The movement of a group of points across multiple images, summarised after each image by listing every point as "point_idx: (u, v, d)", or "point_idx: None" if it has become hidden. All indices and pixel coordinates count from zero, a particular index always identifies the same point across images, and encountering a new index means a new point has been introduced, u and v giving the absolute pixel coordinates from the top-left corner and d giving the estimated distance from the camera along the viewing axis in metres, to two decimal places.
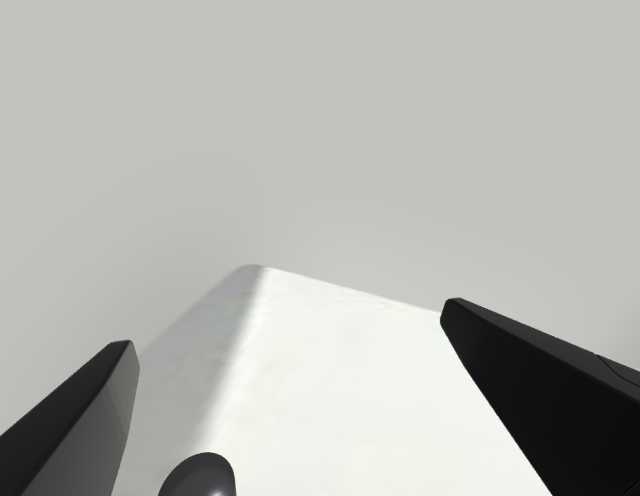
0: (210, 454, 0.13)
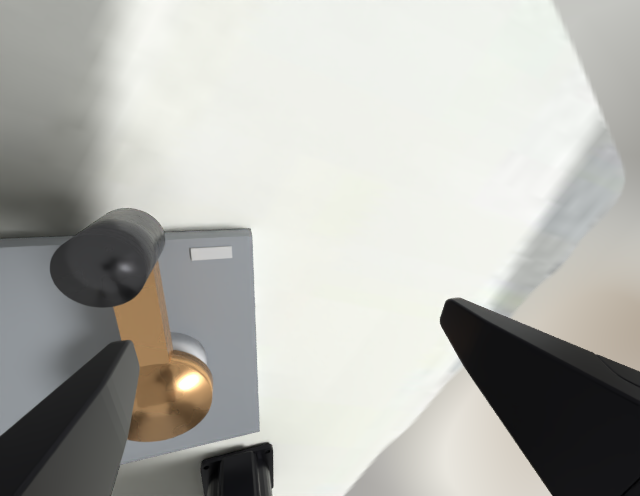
0: (106, 238, 0.10)
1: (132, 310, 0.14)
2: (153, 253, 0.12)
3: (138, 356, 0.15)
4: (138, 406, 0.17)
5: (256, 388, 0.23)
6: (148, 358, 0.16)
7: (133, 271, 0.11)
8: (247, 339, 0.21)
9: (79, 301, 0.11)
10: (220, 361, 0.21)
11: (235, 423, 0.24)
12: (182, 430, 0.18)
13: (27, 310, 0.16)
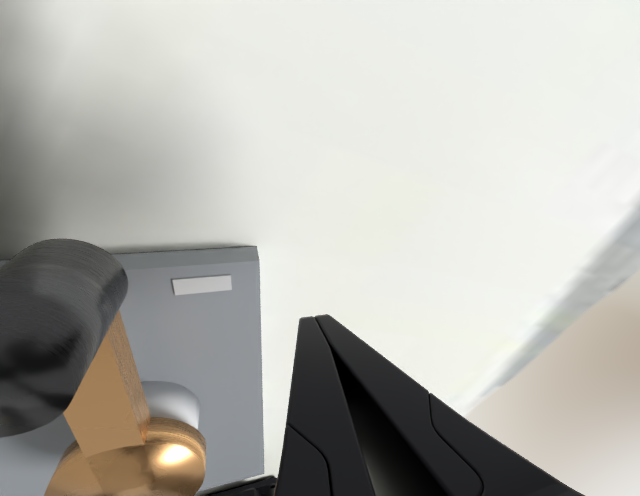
0: None
1: (81, 388, 0.10)
2: (96, 327, 0.07)
3: (97, 440, 0.11)
4: (104, 493, 0.12)
5: (261, 432, 0.19)
6: (112, 441, 0.11)
7: (48, 381, 0.06)
8: (251, 383, 0.17)
9: None
10: (217, 408, 0.17)
11: (235, 468, 0.20)
12: None
13: None
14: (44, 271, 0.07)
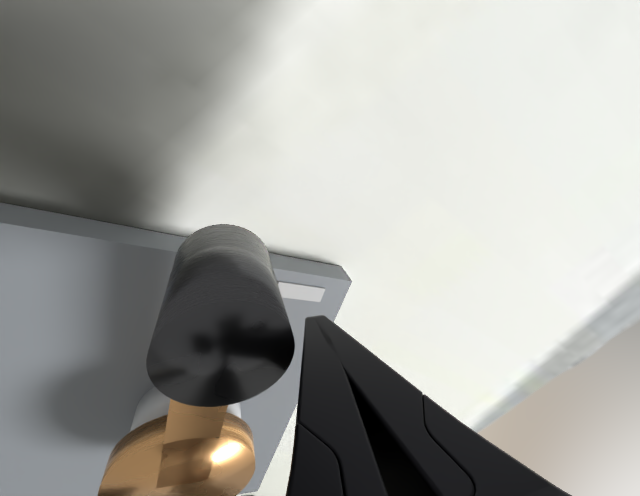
0: (261, 310, 0.06)
1: None
2: None
3: (183, 427, 0.11)
4: (156, 485, 0.12)
5: (275, 446, 0.19)
6: (195, 430, 0.11)
7: (275, 359, 0.07)
8: (291, 393, 0.17)
9: (174, 396, 0.06)
10: (251, 414, 0.17)
11: None
12: None
13: (27, 319, 0.11)
14: (252, 256, 0.08)
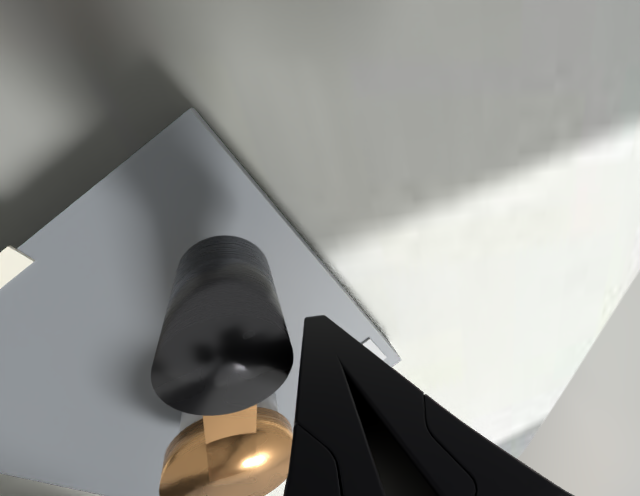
0: (249, 321, 0.06)
1: None
2: None
3: (220, 427, 0.11)
4: (209, 479, 0.13)
5: None
6: (232, 428, 0.12)
7: (276, 363, 0.07)
8: None
9: (188, 410, 0.07)
10: None
11: None
12: None
13: None
14: (242, 265, 0.08)
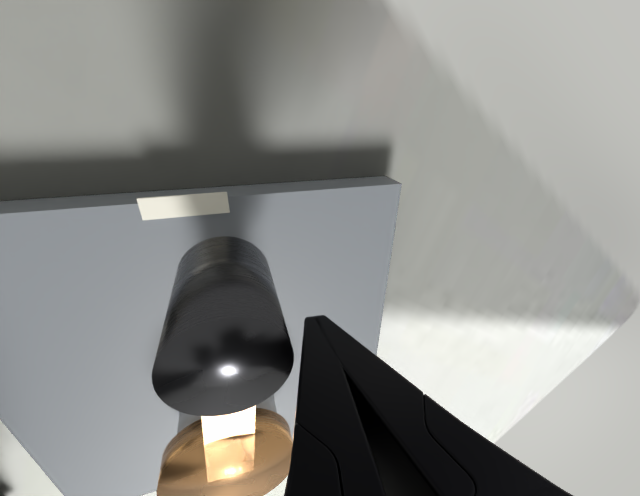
0: (250, 322, 0.06)
1: None
2: None
3: (218, 428, 0.11)
4: (207, 480, 0.13)
5: None
6: (230, 429, 0.12)
7: (276, 364, 0.07)
8: None
9: (188, 411, 0.07)
10: None
11: (101, 488, 0.16)
12: None
13: (318, 296, 0.14)
14: (242, 266, 0.08)
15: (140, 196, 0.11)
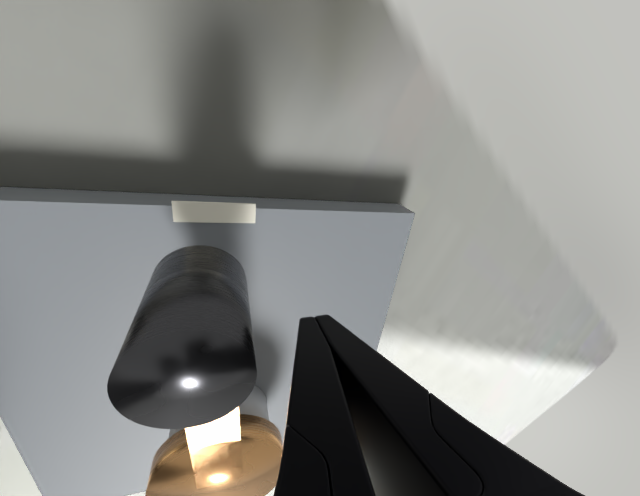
0: (204, 335, 0.06)
1: None
2: (251, 327, 0.08)
3: (203, 436, 0.11)
4: (196, 487, 0.13)
5: None
6: (215, 437, 0.12)
7: (238, 376, 0.07)
8: None
9: (151, 424, 0.07)
10: None
11: (78, 486, 0.16)
12: None
13: (324, 311, 0.15)
14: (209, 276, 0.08)
15: (172, 198, 0.11)
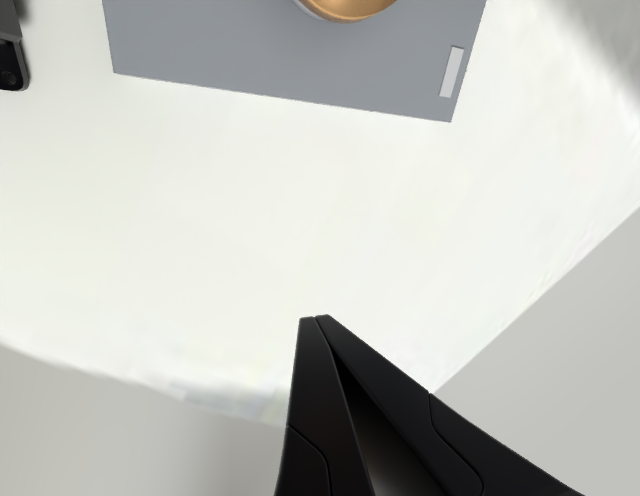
0: None
1: None
2: None
3: None
4: None
5: (233, 87, 0.14)
6: None
7: None
8: (330, 91, 0.15)
9: None
10: (303, 40, 0.14)
11: (149, 27, 0.12)
12: (373, 5, 0.11)
13: None
14: None
15: None
